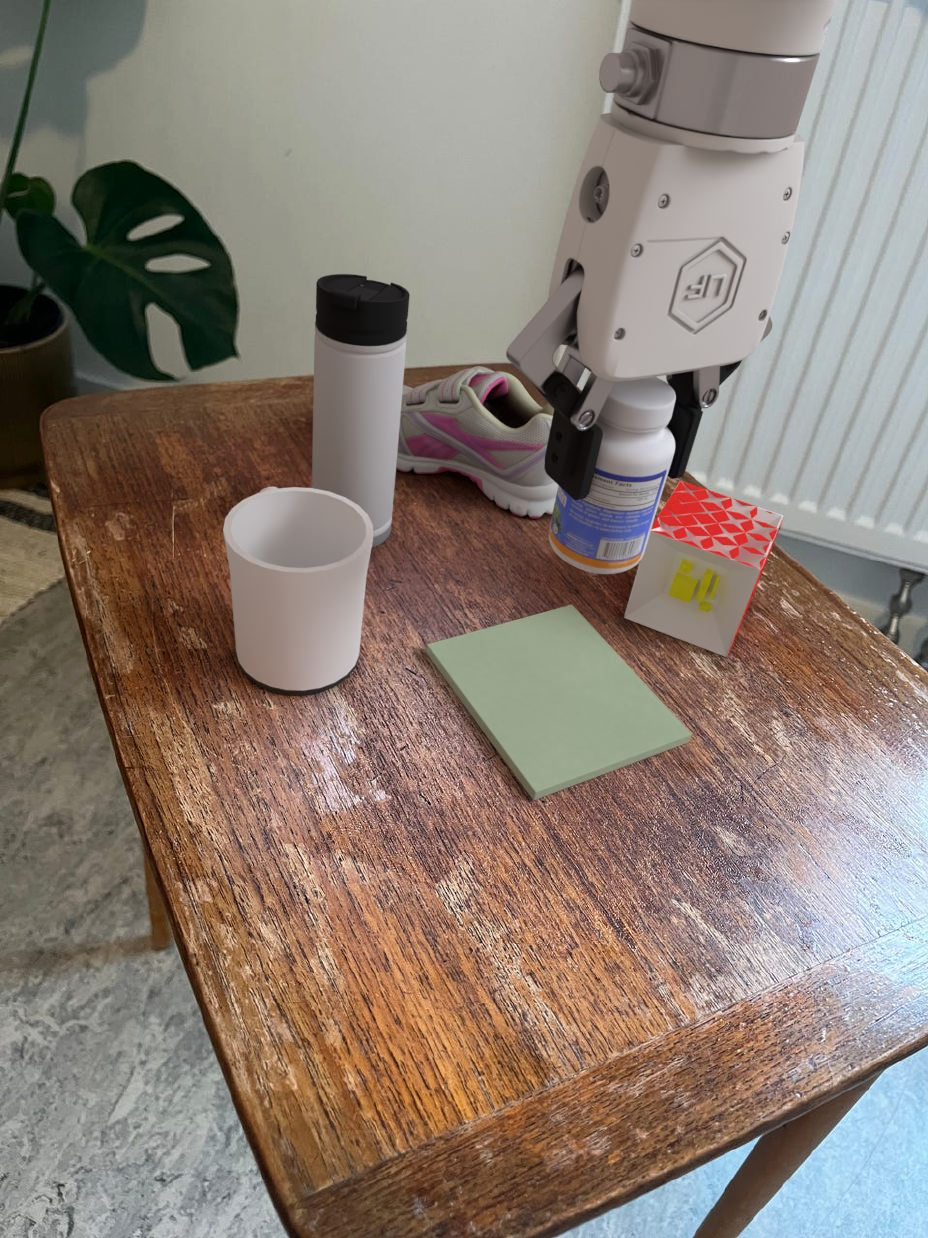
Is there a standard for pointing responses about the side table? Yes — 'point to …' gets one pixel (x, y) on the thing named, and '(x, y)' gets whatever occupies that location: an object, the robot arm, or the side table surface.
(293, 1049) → the side table surface
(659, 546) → the red patterned cube box
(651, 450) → the pill bottle
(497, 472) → the running shoe
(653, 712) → the mat
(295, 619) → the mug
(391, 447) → the travel mug
